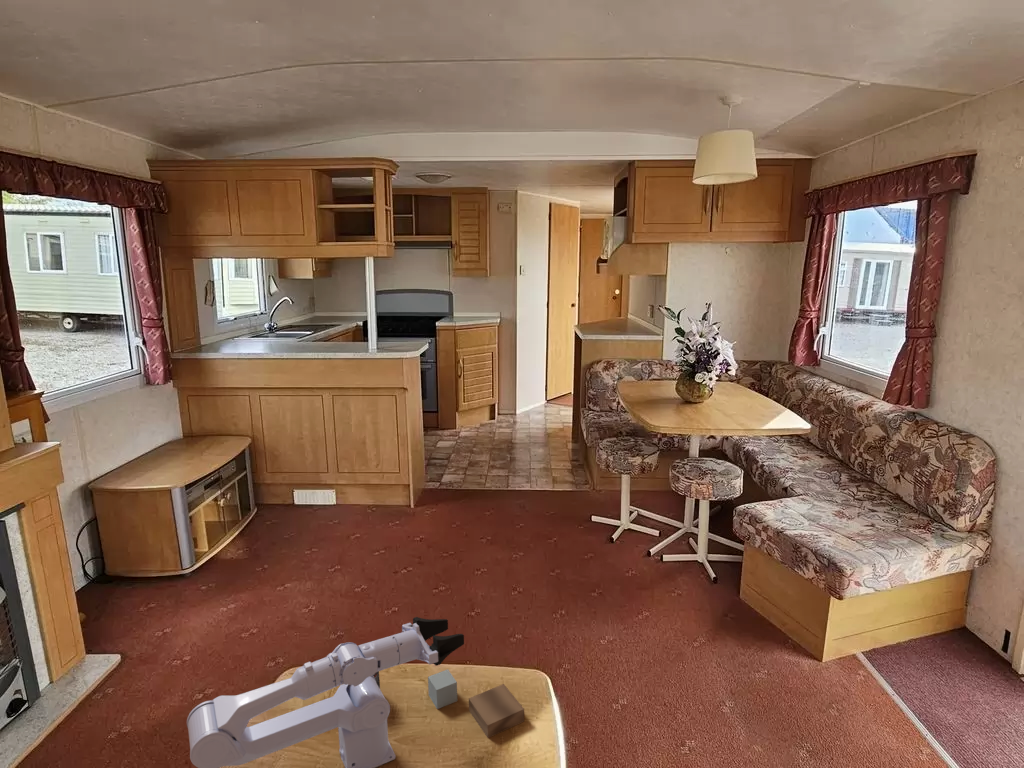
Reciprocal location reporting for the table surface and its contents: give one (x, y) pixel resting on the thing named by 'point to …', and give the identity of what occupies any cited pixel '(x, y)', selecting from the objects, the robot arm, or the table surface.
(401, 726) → the table surface
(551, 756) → the table surface
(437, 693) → the grey cube
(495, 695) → the walnut block
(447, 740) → the table surface
